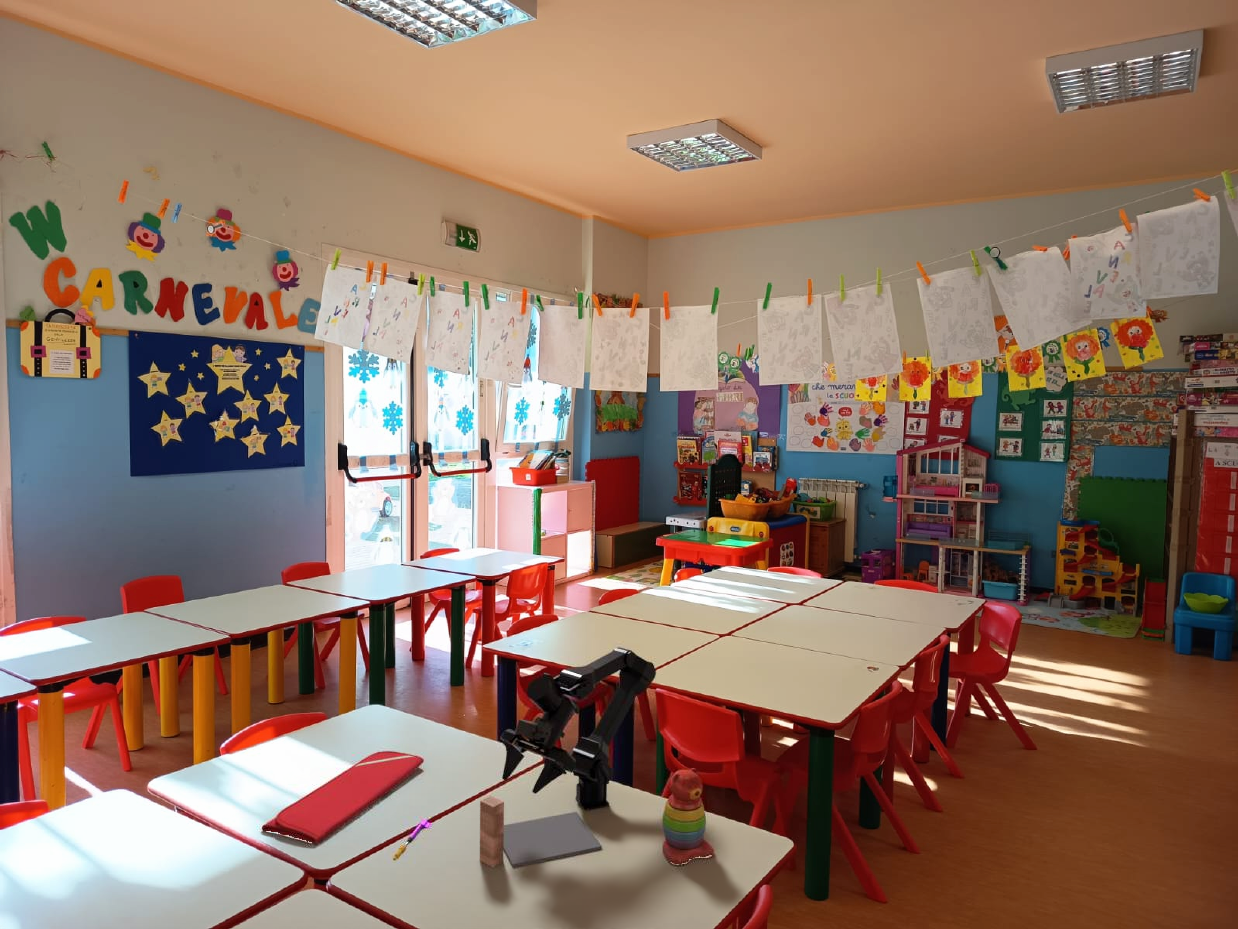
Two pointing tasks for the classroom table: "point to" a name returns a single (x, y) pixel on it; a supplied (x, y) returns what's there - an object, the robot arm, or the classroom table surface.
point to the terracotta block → (491, 830)
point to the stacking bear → (685, 819)
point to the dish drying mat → (343, 796)
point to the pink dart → (421, 825)
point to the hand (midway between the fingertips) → (518, 786)
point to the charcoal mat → (547, 839)
